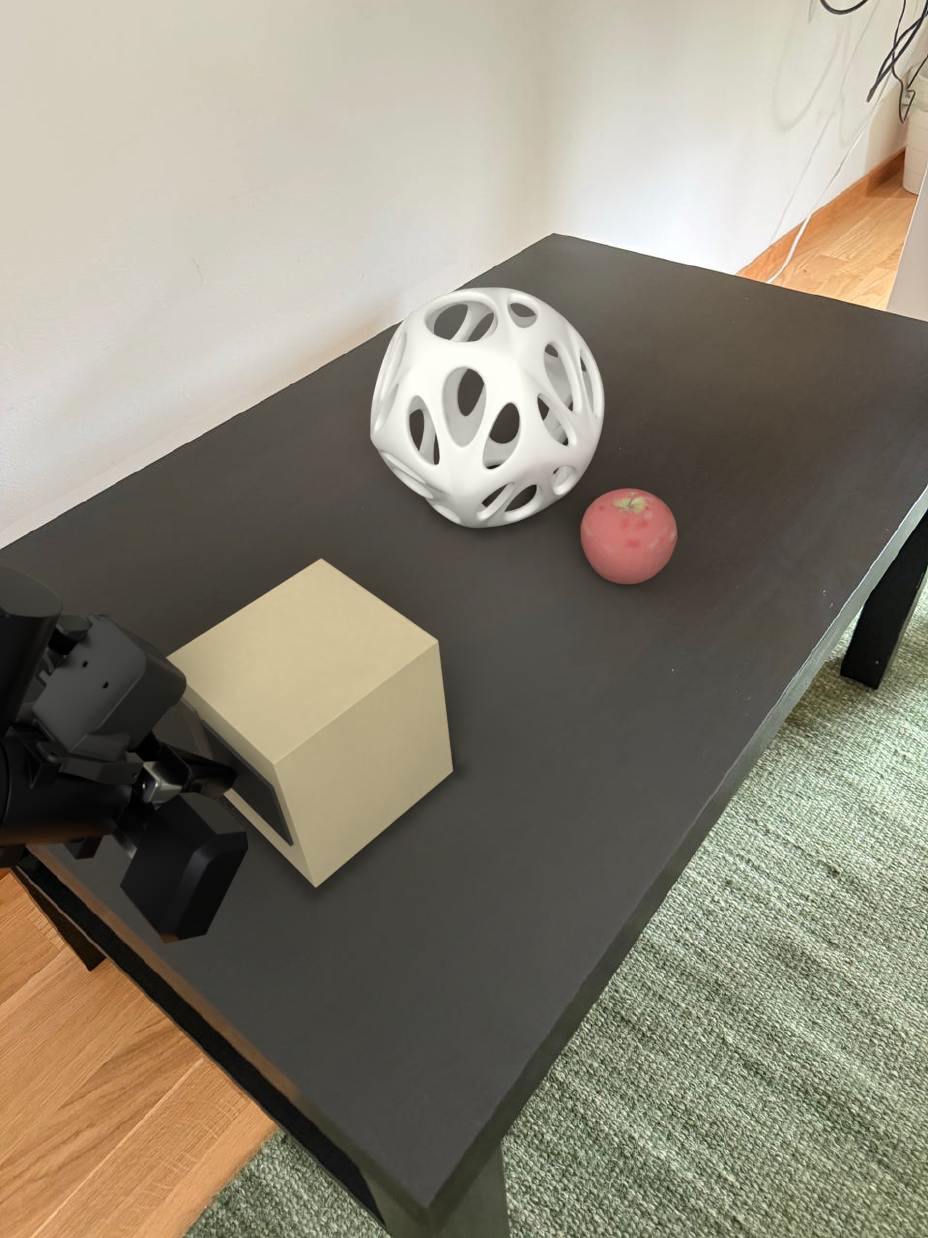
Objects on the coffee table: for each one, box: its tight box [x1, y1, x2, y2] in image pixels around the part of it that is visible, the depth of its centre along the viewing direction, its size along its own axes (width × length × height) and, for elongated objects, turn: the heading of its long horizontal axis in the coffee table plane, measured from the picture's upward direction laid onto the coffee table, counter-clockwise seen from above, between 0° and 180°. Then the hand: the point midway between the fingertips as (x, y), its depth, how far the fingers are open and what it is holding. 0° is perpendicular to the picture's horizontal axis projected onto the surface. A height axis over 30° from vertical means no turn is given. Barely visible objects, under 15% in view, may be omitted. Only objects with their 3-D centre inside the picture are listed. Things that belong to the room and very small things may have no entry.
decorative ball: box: [369, 286, 606, 529], centre depth 79 cm, size 20×20×17 cm
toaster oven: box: [165, 557, 454, 888], centre depth 59 cm, size 12×11×13 cm
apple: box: [580, 487, 678, 585], centre depth 73 cm, size 7×7×8 cm
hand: (231, 777), depth 55 cm, fingers closed, pressing on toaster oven
